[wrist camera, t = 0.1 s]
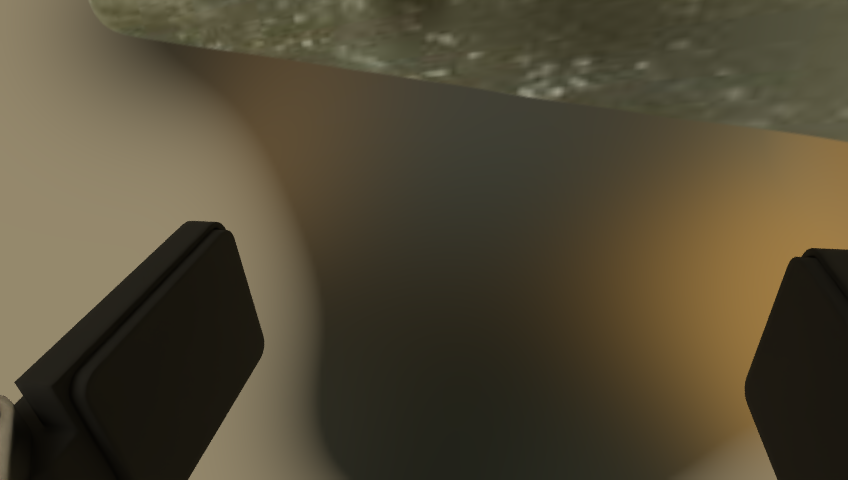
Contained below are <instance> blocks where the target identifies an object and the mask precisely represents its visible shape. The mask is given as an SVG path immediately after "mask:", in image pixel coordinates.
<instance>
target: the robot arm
mask: <svg viewBox="0 0 848 480" xmlns="http://www.w3.org/2000/svg"><path fill="white" fill-rule="evenodd" d="M263 350H264V337H263V333H262V330H261V327H260V324H259V320H258V317H257V313H256V310H255V306H254V303H253V300H252V296H251V293H250V289H249V286H248V283H247V280H246V276H245V273H244V269H243V266H242V262H241V259H240V256H239V252H238V249H237V246H236V242H235V239H234V236H233V234H232V233H231V232H230V231H228V230H226V229H225V227H224V226H223V225H222V224H221V223H219V222H204V221H188V222H186V223H185V224H183V225H182V226H181V227H180V228H179V229H178V230H176V231H175V232H174V233H173V234H172V235H171V236H170V237H169V238H168V239H167V240H166V241H165V242H164V243H163V244H162V245H160V246H159V247H158V248H157V249H156V250H155V251H154V252H153V253H152V254H151V255H150V256H149V257H148V258H147V259H146V260H145V261H144V262H142V263H141V264H140V265H139V266H138V267H137V268H136V269H135V270H134V271H133V272H132V273H131V274H129V275H128V276H127V277H126V278H125V279H124V280H123V281H122V282H121V283H120V284H119V285H118V286H117V287H116V288H115V289H114V290H113V291H111V292H110V293H109V294H108V295H107V296H106V297H105V298H104V299H103V300H102V301H101V302H100V303H99V304H97V305H96V307H94V308H93V309H92V310H91V311H90V312H89V313H88V314H87V315H86V316H85V317H84V318H83V319H81V320H80V321H79V322H78V323H77V324H76V325H75V326H74V327H73V328H72V329H71V330H70V331H69V332H68V333H67V334H66V335H64V336H63V337H62V338H61V339H60V340H59V341H58V342H57V343H56V344H55V345H54V346H53V347H52V348H51V349H49V351H47V352H46V353H45V354H44V355H43V356H42V357H41V358H40V359H39V360H38V361H37V362H36V363H35V364H33V365H32V366H31V367H30V368H29V369H28V370H27V371H26V372H25V373H24V374H23V375H22V376H21V377H20V378H19V379H17V380H16V381H15V384H16V385H17V387H18V388H19V390H20V391H21V393H22V394H23V397H22V398H21V399H20V400H19V401H18V402H17V403H16V404H15V405H14V404H13V403H12V402H11V401H10V400H9V399H8V398H7V397H5V396H2V395H0V480H188V478H189V477H190V475H191V474H192V472H193V470H194V469H195V467H196V465H197V464H198V462H199V460H200V458H201V457H202V455H203V453H204V452H205V450H206V449H207V447H208V445H209V444H210V442H211V440H212V439H213V437H214V435H215V434H216V432H217V430H218V428H219V427H220V425H221V423H222V422H223V420H224V418H225V417H226V415H227V413H228V412H229V410H230V408H231V407H232V405H233V403H234V402H235V400H236V398H237V397H238V395H239V393H240V392H241V390H242V388H243V387H244V385H245V383H246V382H247V380H248V378H249V377H250V375H251V373H252V372H253V370H254V368H255V367H256V365H257V363H258V362H259V360H260V358H261V356H262V354H263ZM745 397H746V401H747V404H748V407H749V409H750V412H751V414H752V417H753V419H754V422H755V424H756V427H757V430H758V432H759V434H760V437H761V439H762V442H763V444H764V447H765V449H766V452H767V454H768V457H769V460H770V462H771V465H772V467H773V469H774V472H775V475H776V477H777V480H848V250H840V249H819V248H811V249H808V250H807V251H806V252H805V253H804V254H803V255H802V257H794V258H792V260H791V261H790V262H789V264H788V267H787V269H786V272H785V275H784V277H783V280H782V283H781V285H780V288H779V291H778V294H777V296H776V299H775V302H774V304H773V307H772V310H771V313H770V315H769V318H768V321H767V324H766V326H765V329H764V332H763V334H762V337H761V340H760V343H759V345H758V348H757V351H756V353H755V356H754V359H753V361H752V364H751V367H750V370H749V372H748V375H747V378H746V381H745Z"/></svg>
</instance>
